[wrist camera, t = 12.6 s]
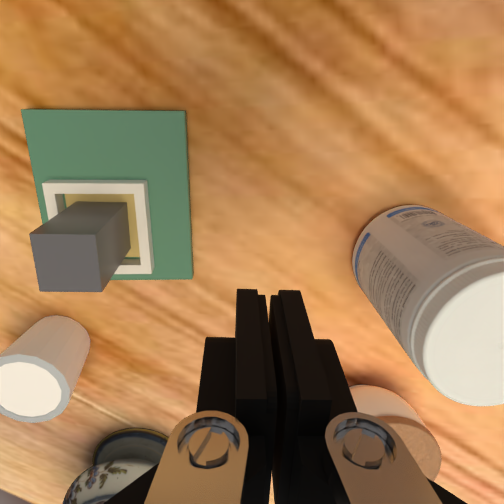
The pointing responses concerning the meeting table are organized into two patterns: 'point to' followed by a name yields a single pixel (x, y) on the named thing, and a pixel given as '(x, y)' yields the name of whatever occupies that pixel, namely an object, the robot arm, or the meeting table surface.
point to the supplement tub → (438, 298)
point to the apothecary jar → (117, 465)
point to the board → (120, 178)
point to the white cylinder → (42, 369)
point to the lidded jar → (401, 424)
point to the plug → (81, 247)
